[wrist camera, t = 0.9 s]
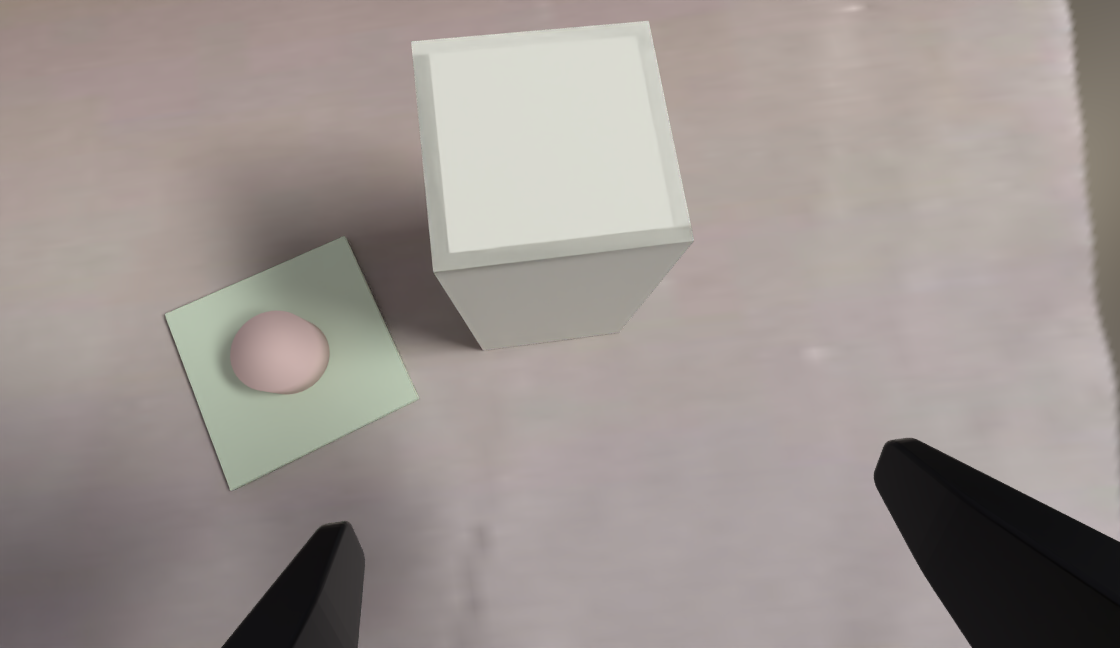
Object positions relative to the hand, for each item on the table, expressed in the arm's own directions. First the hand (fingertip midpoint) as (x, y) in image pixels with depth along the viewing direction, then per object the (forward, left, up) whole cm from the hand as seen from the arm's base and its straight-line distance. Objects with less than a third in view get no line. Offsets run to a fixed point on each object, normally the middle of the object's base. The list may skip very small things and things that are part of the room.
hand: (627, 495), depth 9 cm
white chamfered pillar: (+5, +6, -13) cm, 15 cm away
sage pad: (-5, +11, -13) cm, 18 cm away
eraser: (-5, +11, -13) cm, 18 cm away
